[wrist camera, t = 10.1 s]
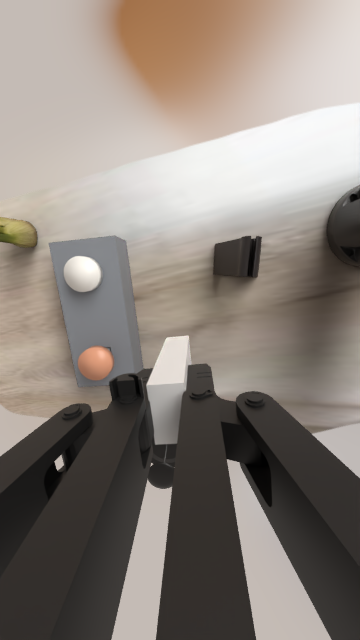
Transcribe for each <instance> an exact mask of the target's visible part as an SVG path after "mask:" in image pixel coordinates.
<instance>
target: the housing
mask: <svg viewBox="0 0 360 640" xmlns="http://www.w3.org/2000/svg"><path fill="white" fill-rule="evenodd" d="M49 247H50V252H51V257H52V262H53V267H54V272H55V277H56V281H57V286H58V291H59V296H60V301H61V306H62V311H63V316H64V320H65V325H66V330H67V335H68V340H69V345H70V350H71V354H72V359H73V364H74V369H75V374H76V379H77V384H78V387H90V386H105V385H109V381H110V380H111V379H113V378H115V377H116V376H119V375H122V374H127V373H136V374H137V373H138V372H140V371H141V370H142V369H144V368H143V361H142V354H141V346H140V339H139V332H138V325H137V317H136V310H135V303H134V295H133V288H132V281H131V274H130V266H129V259H128V252H127V245H126V241H125V240H123V239H121V238H119V237H117V236H107V237H98V238H89V239H80V240H71V241H62V242H52V243H49ZM75 256H84V257H90V258H92V259H94V260H95V261H96V262H98V264H99V265H100V267H101V269H102V272H103V278H102V282H101V284H100V285H99V286H98V287H97V288H96V289H94V290H92V291H87V292H78V291H75V290H73V289H72V288H71V287H70V286H69V285H68V284H67V283H66V281H65V278H64V267H65V264H66V263H67V261H68V260H69V259H71V258H73V257H75ZM92 346H103V347H111V353H112V355H113V357H114V367H113V369H112V370H111V372H110V373H109V374H108V375H107V376H106V377H105V378H104V379H101V380H90V379H88V378H86V377H85V376H84V375H83V374H82V373H81V372H80V370H79V368H78V359H79V356H80V355H81V354H82V353H83V352H84V351H85V350H87V349H88V348H90V347H92Z"/></svg>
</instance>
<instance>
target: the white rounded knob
mask: <svg viewBox="0 0 360 640" xmlns="http://www.w3.org/2000/svg"><path fill="white" fill-rule="evenodd" d="M64 278H65V281H66V283H67V284H68V285H69V286H70V287H71V288H72V289H73V290H75V291H78V292H87V291H92V290H94V289H96V288H97V287H98V286H99V285H100V284H101V282H102V278H103V272H102V269H101V267H100V265H99V264H98V262H96V261H95V260H94V259H92V258H90V257H84V256H75V257H73V258H71V259H69V260H68V261H67V263H66V264H65V267H64Z"/></svg>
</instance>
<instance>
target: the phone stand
mask: <svg viewBox="0 0 360 640" xmlns="http://www.w3.org/2000/svg"><path fill="white" fill-rule="evenodd" d="M261 239H262V237H259V236H256V239H251V236H245V237H242V238H240V239H236V240H232V241H227V242H222V243H218V244H216V245H215V259H214V274H215V275H230V276H243V277H247V276H249V277H257V276H258V270H259V261H260V252H261Z"/></svg>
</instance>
